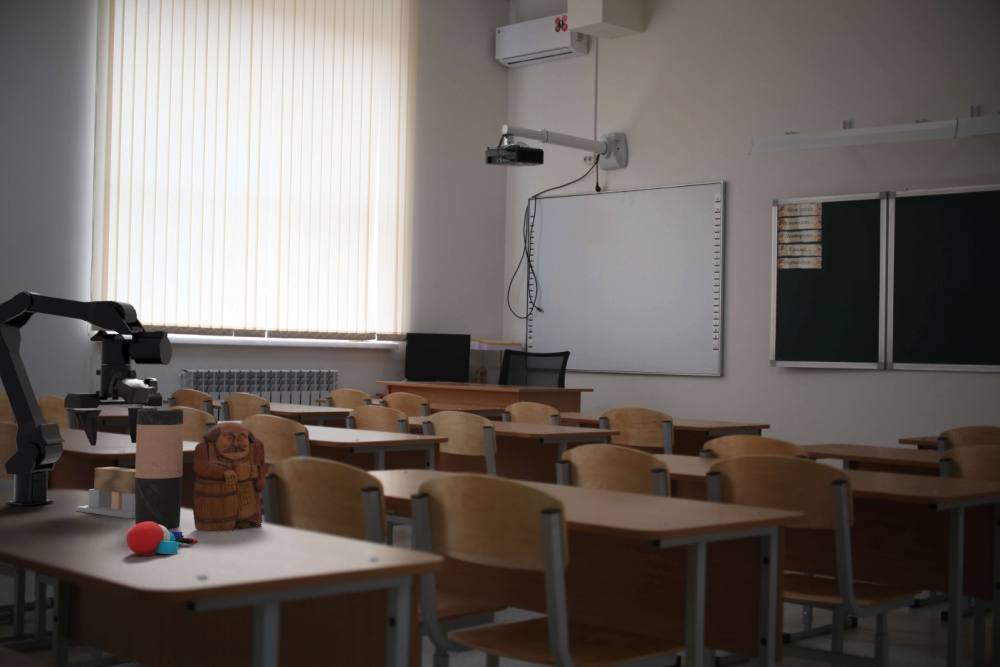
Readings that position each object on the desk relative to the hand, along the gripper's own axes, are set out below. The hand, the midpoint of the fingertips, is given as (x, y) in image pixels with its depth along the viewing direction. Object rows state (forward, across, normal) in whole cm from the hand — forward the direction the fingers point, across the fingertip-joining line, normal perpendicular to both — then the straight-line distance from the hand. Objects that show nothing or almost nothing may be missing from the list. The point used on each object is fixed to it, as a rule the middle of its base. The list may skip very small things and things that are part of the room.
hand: (114, 444), depth 194 cm
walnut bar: (+8, -4, -9) cm, 13 cm away
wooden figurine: (+12, -5, -39) cm, 41 cm away
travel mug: (+12, -12, -29) cm, 34 cm away
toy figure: (+13, -25, -46) cm, 54 cm away
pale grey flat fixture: (+12, -4, -9) cm, 16 cm away
